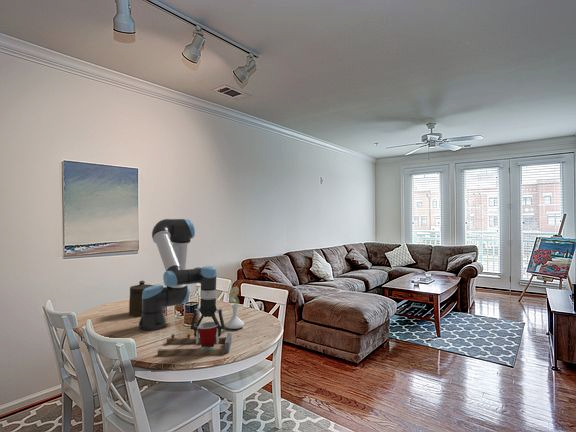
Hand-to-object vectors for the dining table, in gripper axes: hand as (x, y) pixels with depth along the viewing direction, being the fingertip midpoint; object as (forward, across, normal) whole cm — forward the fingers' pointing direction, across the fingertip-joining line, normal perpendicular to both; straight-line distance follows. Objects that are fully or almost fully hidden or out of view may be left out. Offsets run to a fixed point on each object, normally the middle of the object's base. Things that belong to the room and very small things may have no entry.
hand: (207, 342), depth 163 cm
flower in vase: (+3, +11, +30) cm, 32 cm away
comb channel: (+3, -7, 0) cm, 7 cm away
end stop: (+3, +10, 0) cm, 11 cm away
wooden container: (+3, -54, +62) cm, 82 cm away
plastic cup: (+3, 0, 0) cm, 3 cm away
